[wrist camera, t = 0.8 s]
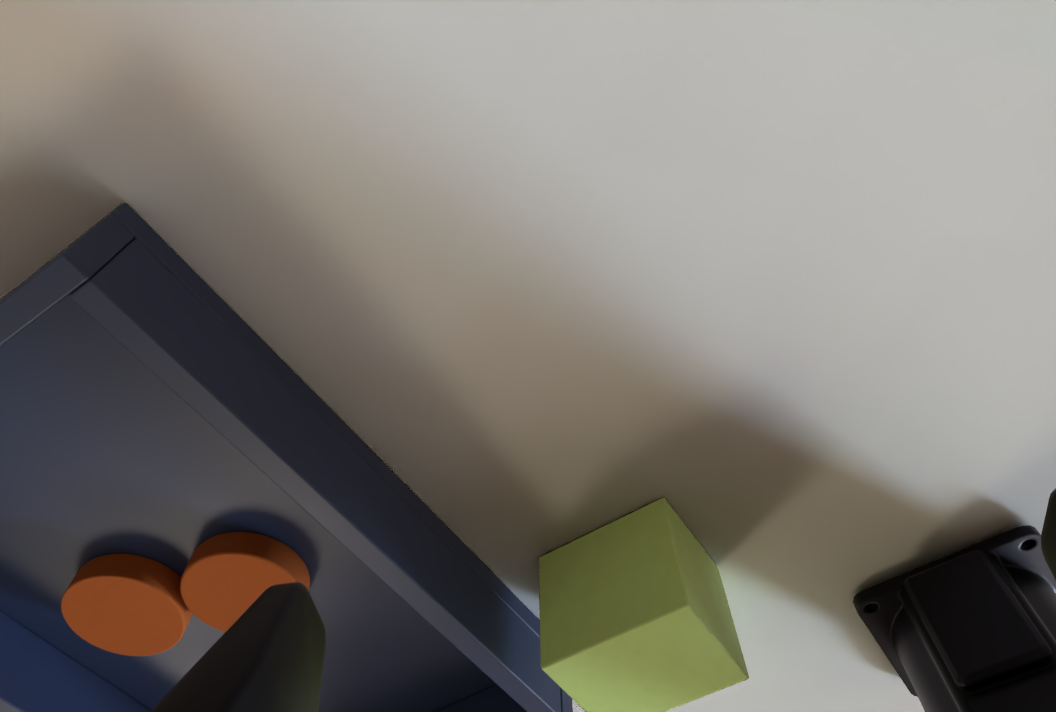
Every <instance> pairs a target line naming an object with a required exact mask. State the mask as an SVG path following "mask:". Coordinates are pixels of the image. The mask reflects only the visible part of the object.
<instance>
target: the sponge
mask: <svg viewBox="0 0 1056 712" xmlns="http://www.w3.org/2000/svg"><path fill="white" fill-rule="evenodd" d="M539 602H540V649H541V668H542V670H543V671H544V672H545V673H546V674H547V675H548V676H549V677H550V678H551V679H552V680H553V681H554V682H556V683H557V684H558V685H559V686H560V687H561V688H562V689H563V690H564V691H565V692H566V693H567V694H568V695H569V696H570V697H571V698H572V699H573V700H574V701H575V702H576V703H577V704H578V705H579V706H580V707H581V708H583V709H584V710H585V711H586V712H665V711H668V710H670V709H673V708H675V707H678V706H680V705H683V704H686V703H688V702H691V701H693V700H696V699H698V698H701V697H703V696H706V695H708V694H711V693H713V692H716V691H719V690H721V689H724V688H726V687H729V686H731V685H734V684H736V683H739V682H741V681H744V680H747V679H748V678H749V675H748V672H747V668H746V665H745V661H744V658H743V654H742V651H741V647H740V643H739V640H738V636H737V633H736V629H735V626H734V622H733V619H732V615H731V612H730V608H729V605H728V601H727V598H726V594H725V590H724V587H723V583H722V580H721V576H720V573H719V569H718V567H717V566H716V564H715V563H714V562H713V560H712V559H711V558H710V557H709V555H708V554H707V553H706V551H705V550H704V549H703V547H702V546H701V545H700V544H699V542H698V541H697V540H696V538H695V537H694V536H693V534H692V533H691V532H690V531H689V529H688V528H687V527H686V525H685V524H684V523H683V521H682V520H681V519H680V518H679V516H678V515H677V514H676V512H675V511H674V510H673V508H672V507H671V506H670V505H669V503H668V502H667V501H666V499H665V498H661V499H659V500H657V501H655V502H653V503H651V504H649V505H647V506H645V507H642V508H640V509H638V510H636V511H634V512H632V513H630V514H628V515H626V516H624V517H622V518H620V519H618V520H616V521H614V522H612V523H609V524H607V525H605V526H603V527H601V528H599V529H597V530H595V531H593V532H591V533H589V534H587V535H585V536H583V537H581V538H578V539H576V540H574V541H572V542H570V543H568V544H566V545H564V546H562V547H560V548H558V549H556V550H554V551H552V552H550V553H547V554H545V555H543V556H541V557H540V558H539Z"/></svg>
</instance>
